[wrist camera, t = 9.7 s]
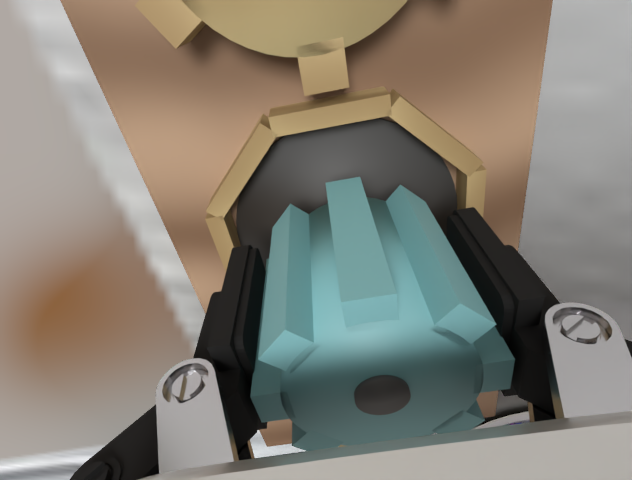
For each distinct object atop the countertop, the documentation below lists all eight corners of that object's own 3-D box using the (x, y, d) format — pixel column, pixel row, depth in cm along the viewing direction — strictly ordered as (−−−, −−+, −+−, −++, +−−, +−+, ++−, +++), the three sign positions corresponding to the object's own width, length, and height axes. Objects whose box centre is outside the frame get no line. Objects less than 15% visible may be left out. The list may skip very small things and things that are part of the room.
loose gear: (247, 196, 11) (215, 327, 7) (441, 162, 11) (533, 278, 7) (288, 329, 14) (283, 477, 10) (440, 306, 14) (503, 450, 10)
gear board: (-46, -309, 8) (-331, -551, 5) (577, -485, 7) (858, -962, 4) (268, 422, 24) (263, 504, 20) (484, 392, 23) (520, 472, 19)
